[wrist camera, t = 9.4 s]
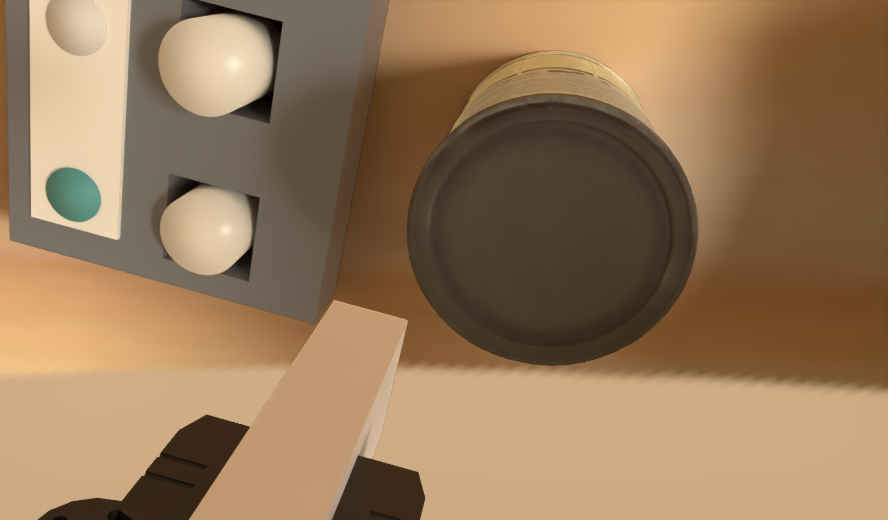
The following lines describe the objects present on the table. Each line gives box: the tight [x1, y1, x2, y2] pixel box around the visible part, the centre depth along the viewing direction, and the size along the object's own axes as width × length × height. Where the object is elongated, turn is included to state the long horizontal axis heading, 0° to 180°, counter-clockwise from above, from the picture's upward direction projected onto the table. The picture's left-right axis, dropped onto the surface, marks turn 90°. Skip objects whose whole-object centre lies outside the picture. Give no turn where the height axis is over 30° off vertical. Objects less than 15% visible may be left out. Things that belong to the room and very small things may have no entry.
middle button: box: [158, 11, 281, 117], centre depth 35 cm, size 4×4×5 cm
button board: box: [5, 0, 389, 324], centre depth 37 cm, size 18×26×4 cm
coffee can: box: [407, 51, 698, 366], centre depth 32 cm, size 10×10×14 cm
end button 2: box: [160, 183, 260, 275], centre depth 40 cm, size 4×4×5 cm
